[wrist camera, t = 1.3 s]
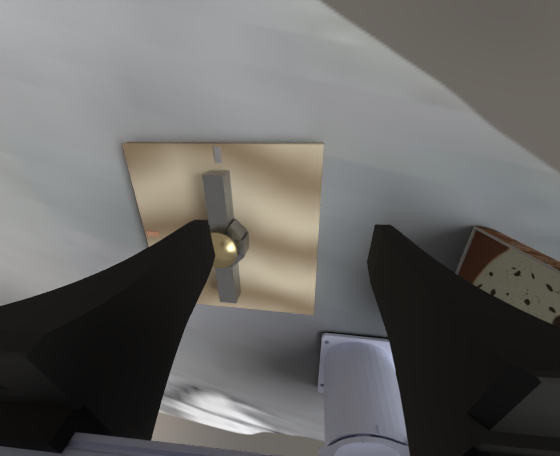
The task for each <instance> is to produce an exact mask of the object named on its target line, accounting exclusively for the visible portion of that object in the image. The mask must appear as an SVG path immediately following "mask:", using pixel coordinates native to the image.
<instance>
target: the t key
mask: <svg viewBox="0 0 560 456" xmlns="http://www.w3.org/2000/svg"><path fill="white" fill-rule="evenodd" d="M202 179H203V186H204V193H205V200H206V208H207V215H208V222H209V228H210V232H221V233H224V234H226V235H228V236H229V237H231V238H232V239H233V241H234V242H235V243H236V246H237V249H238V255H237V258H236V260H235V261H234V263H233V264H232V265H230V266H228V267H225V268H217V267H215V271H216V278H217V285H218V293H219V300H220V302H226V303H237V301H238V298H239V296H240V294H241V286H240V275H239V265H238V262H239V261H240V260H242V259H243V258H244V256H245V254H246V253H247V251H248V249H249V246H250V244H249V232H246V231H247V229H246V228H245V227H244V226H243V225H242V224H241V223H240V222H239V221H238V220H237V219H235V220H234V221H233V219H234V211H233V201H232V190H231V180H230V171H228V170H210V171H208V172H206V173H204V174H202Z"/></svg>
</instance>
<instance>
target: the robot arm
mask: <svg viewBox="0 0 560 456" xmlns="http://www.w3.org/2000/svg"><path fill="white" fill-rule="evenodd" d="M214 259H215V251H214V247H213V242H212V237H211V233H210V228H209V223H208V220H193V221H191V222H189V223H187V224H186V225H184V226H182V227H181V228H179V229H177V230H176V231H174V232H173V233H171V234H169V235H168V236H166V237H165V238H163V239H161V240H160V241H158V242H157V243H155V244H153V245H151V246H150V247H148V248H146V249H145V250H143V251H141V252H139V253H138V254H136V255H134V256H132V257H130V258H128V259H126V260H124V261H123V262H120V263H118V264H116V265H114V266H112V267H110V268H108V269H106V270H103V271H101V272H99V273H96V274H94V275H91V276H89V277H87V278H84V279H82V280H79V281H77V282H74V283H72V284H69V285H66V286H63V287H61V288H58V289H55V290H52V291H49V292H46V293H43V294H40V295H37V296H34V297H31V298H27V299H24V300H21V301H17V302H14V303H10V304H6V305H3V306H0V456H282V455H273V454H264V453H255V452H247V451H238V450H229V449H220V448H212V447H203V446H194V445H185V444H175V443H167V442H158V441H151V438H152V434H153V430H154V427H155V423H156V419H157V415H158V412H159V408H160V404H161V400H162V397H163V394H164V390H165V387H166V384H167V380H168V377H169V373H170V370H171V367H172V364H173V361H174V358H175V355H176V352H177V349H178V346H179V343H180V341H181V338H182V335H183V332H184V329H185V327H186V324H187V322H188V320H189V317H190V315H191V313H192V311H193V309H194V307H195V305H196V303H197V301H198V299H199V297H200V294H201V292H202V290H203V288H204V286H205V284H206V282H207V280H208V277H209V275H210V272H211V269H212V266H213V263H214ZM367 264H368V271H369V276H370V282H371V285H372V289H373V292H374V295H375V298H376V301H377V304H378V307H379V310H380V313H381V316H382V319H383V322H384V325H385V328H386V332H387V335H388V339H381V338H371V337H362V336H352V335H343V334H333V333H323V334H322V339H321V352H320V364H319V377H318V392H320V393H324V420H325V447H320V448H319V456H560V327H557V326H555V325H553V324H551V323H548V322H546V321H544V320H542V319H539V318H537V317H535V316H533V315H531V314H529V313H526V312H524V311H522V310H520V309H518V308H516V307H514V306H512V305H510V304H508V303H506V302H504V301H502V300H500V299H499V298H497V297H495V296H493V295H491V294H489V293H487V292H485V291H484V290H482V289H480V288H478V287H477V286H475V285H473V284H472V283H470V282H468V281H467V280H465V279H463V278H462V277H460V276H458V275H457V274H455V273H454V272H452V271H451V270H449V269H448V268H446V267H445V266H444V265H442V264H441V263H439V262H438V261H436V260H435V259H434V258H432V257H431V256H430V255H428V254H427V253H426V252H424V251H423V250H422V249H420V248H419V247H418V246H417V245H415V244H414V243H413V242H412V241H410V240H409V239H408V238H407V237H405V236H404V235H403V234H402V233H400V232H399V231H398V230H397V229H395V228H394V227H393V226H391V225H375V228H374V232H373V237H372V242H371V246H370V251H369V256H368V260H367ZM395 371H396V375H395ZM396 376H397V379H396ZM397 381H398V382H397Z"/></svg>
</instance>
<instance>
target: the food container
mask: <svg viewBox="0 0 560 456" xmlns="http://www.w3.org/2000/svg"><path fill="white" fill-rule="evenodd" d="M455 274H457V275H458V276H460V277H462V278H463V279H465V280H467V281H468V282H470V283H472V284H473V285H475V286H477V287H478V288H480V289H482V290H484V291H485V292H487V293H489V294H491V295H493V296H495V297H497V298H499V299H500V300H502V301H504V302H506V303H508V304H510V305H512V306H514V307H516V308H518V309H520V310H522V311H524V312H526V313H529V314H531V315H533V316H535V317H537V318H539V319H542V320H544V321H546V322H548V323H551V324H553V325H555V326H557V327H560V262H559V261H557V260H555V259H553V258H551V257H549V256H547V255H544V254H542V253H540V252H538V251H536V250H534V249H532V248H530V247H528V246H526V245H524V244H522V243H520V242H518V241H516V240H514V239H512V238H510V237H508V236H506V235H504V234H502V233H500V232H498V231H496V230H493V229H490V228H487V227H481V226H474V227H473V230H472V232H471V235H470V237H469V240H468V242H467V245H466V247H465V250H464V252H463V255H462V257H461V259H460V262H459V264H458V267H457V269H456V272H455Z"/></svg>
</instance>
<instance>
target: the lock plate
mask: <svg viewBox="0 0 560 456" xmlns="http://www.w3.org/2000/svg"><path fill="white" fill-rule="evenodd" d="M122 146H123V150H124V154H125V158H126V162H127V165H128V169H129V173H130V177H131V181H132V185H133V188H134V192H135V196H136V200H137V204H138V208H139V211H140V215H141V219H142V223H143V227H144V230H145V234H146V238H147V242H148V246H149V247H150V246H151V245H153V244H155V243H157V242H158V241H160V240H161V239H163V238H165V237H166V236H168V235H169V234H171V233H173V232H174V231H176V230H177V229H179V228H181V227H182V226H184V225H186V224H187V223H189V222H191V221H193V220H208V215H207V208H206V200H205V193H204V186H203V179H202V174H204V173H206V172H208V171H210V170H228V171H230V180H231V190H232V201H233V211H234V219H233V221H234V220H235V219H237V220H238V221H239V222H240V223H241V224H242V225H243V226H244V227H245V228H246V229H247V231H246V232H249V244H250V246H249V249H248V251H247V253H246V254H245V256H244V258H243V259H242V260H240V261H239V262H238V265H239V275H240V286H241V294H240V296H239V298H238V301H237V303H226V302H220V300H219V293H218V285H217V278H216V271H215V267H217V268H225V267H228V266H230V265H232V264H233V263H234V261H235V260H236V258H237V255H238V249H237V246H236V243H235V242H234V241H233V239H232V238H231V237H229V236H228V235H226V234H224V233H221V232H210V233H211V237H212V242H213V247H214V251H215V259H214V263H213V266H212V269H211V272H210V275H209V277H208V280H207V282H206V284H205V286H204V288H203V290H202V292H201V294H200V297H199V299H198V301H197V303H196V304H205V305H216V306H226V307H236V308H247V309H257V310H268V311H278V312H289V313H299V314H310V315H314V300H315V283H316V266H317V249H318V232H319V215H320V198H321V181H322V164H323V147H324V143H226V142H128V143H122ZM208 223H209V222H208Z"/></svg>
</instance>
